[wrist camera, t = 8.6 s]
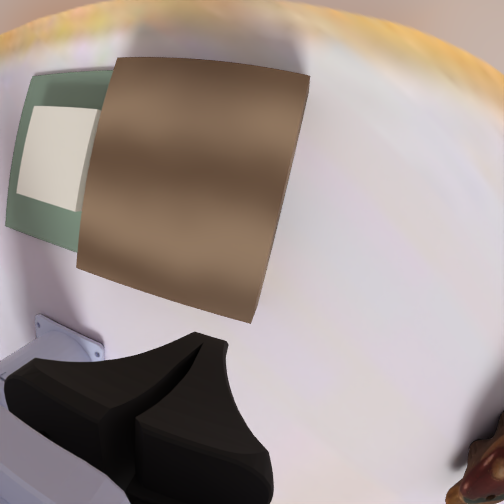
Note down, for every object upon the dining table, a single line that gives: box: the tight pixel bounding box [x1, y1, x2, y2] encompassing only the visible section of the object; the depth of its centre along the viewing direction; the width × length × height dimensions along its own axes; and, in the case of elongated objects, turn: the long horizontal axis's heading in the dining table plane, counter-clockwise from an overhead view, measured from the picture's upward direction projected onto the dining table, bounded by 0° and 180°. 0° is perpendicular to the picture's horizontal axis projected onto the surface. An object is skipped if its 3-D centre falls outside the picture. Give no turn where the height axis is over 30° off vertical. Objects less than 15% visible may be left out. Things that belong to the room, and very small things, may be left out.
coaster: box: [16, 106, 101, 212], centre depth 19 cm, size 7×7×2 cm
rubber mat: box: [5, 70, 113, 252], centre depth 21 cm, size 14×12×1 cm
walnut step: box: [76, 57, 310, 324], centre depth 18 cm, size 14×12×3 cm
